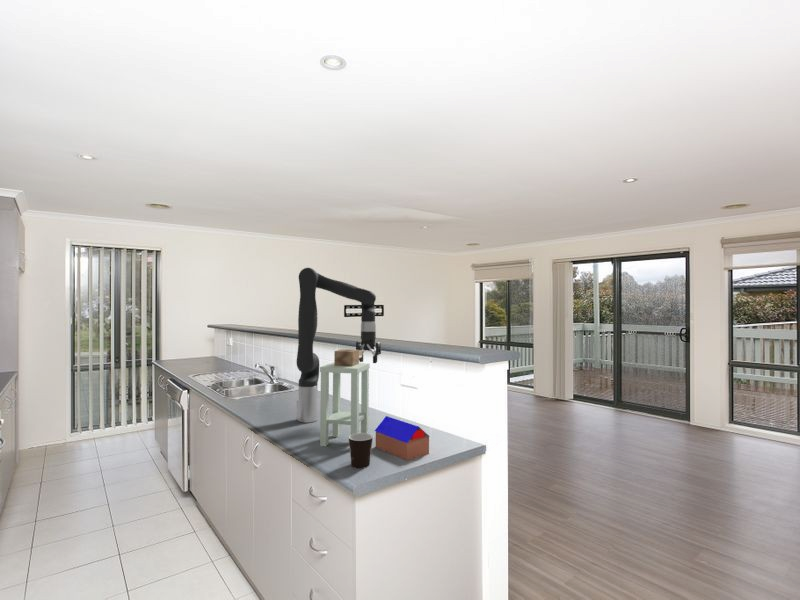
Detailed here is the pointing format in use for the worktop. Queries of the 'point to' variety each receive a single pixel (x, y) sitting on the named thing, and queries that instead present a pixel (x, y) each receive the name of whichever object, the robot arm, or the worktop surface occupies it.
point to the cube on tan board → (347, 357)
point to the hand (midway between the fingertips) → (368, 362)
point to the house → (402, 439)
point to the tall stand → (337, 415)
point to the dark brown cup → (360, 449)
